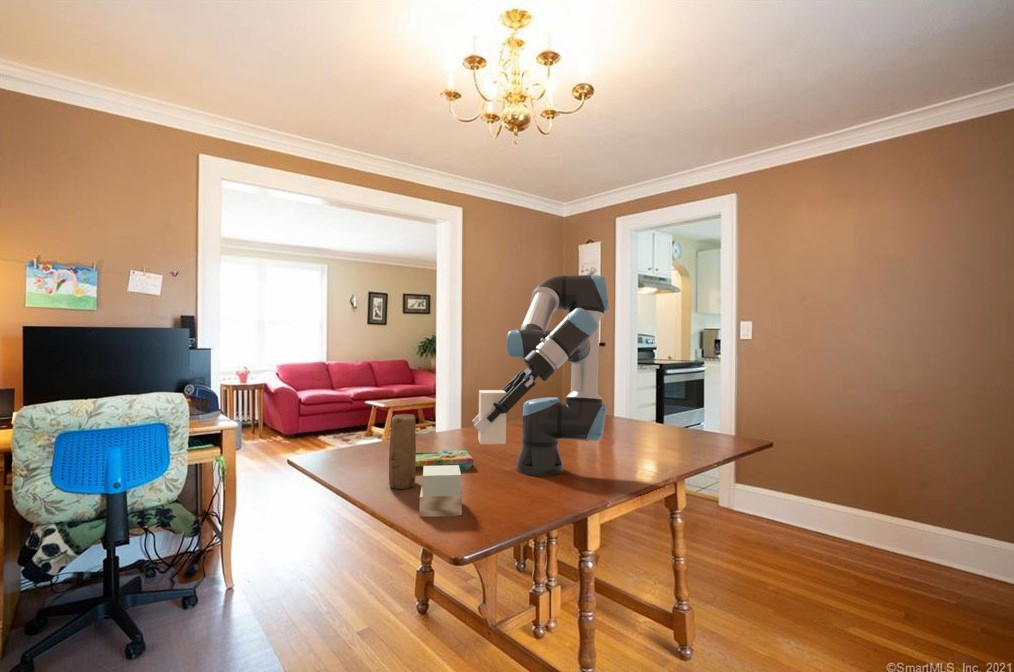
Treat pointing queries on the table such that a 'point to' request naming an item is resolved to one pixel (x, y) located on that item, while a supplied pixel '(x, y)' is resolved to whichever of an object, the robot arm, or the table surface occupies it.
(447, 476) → the tower top
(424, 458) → the puzzle game
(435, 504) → the tower base
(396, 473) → the block
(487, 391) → the cream block
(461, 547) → the table surface
